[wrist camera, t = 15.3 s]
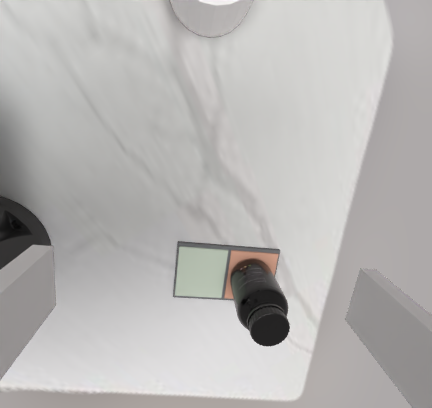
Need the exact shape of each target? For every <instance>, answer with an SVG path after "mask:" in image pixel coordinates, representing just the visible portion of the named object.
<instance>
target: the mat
mask: <svg viewBox="0 0 432 408" xmlns="http://www.w3.org/2000/svg"><path fill="white" fill-rule="evenodd" d="M279 254H280V250H279V249H268V248H255V247H242V246H229V245H216V244H203V243H190V242H178V249H177V260H176V271H175V282H174V293H173V297H183V298H201V299H219V300H234V298H233V294H232V290H231V285H230V276H231V273H232V271H233V269H234V268H235V267H236V266H237V265H238V264H239V263H241V262H242V261H245V260H249V259H256V260H260V261H262V262H264V263H265V264H266V265H267V266H268V267H269V268H270V270H271V271H272V273H273V275H274V277H275V274H276V269H277V264H278V259H279Z"/></svg>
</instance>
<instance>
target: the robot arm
mask: <svg viewBox="0 0 432 408" xmlns="http://www.w3.org/2000/svg"><path fill="white" fill-rule="evenodd" d="M55 306H56V294H55V273H54V252H53V246H50V241H49V237H48V235H47V233H46V231H45V229H44V227H43V225H42V224H41V223H40V221H39V220H38V219H37V218H36V217H35V216H34V215H33V214H32V213H31V212H30V211H29V210H27V209H26V208H24V207H23V206H21V205H20V204H18V203H16V202H14V201H11V200H9V199H6V198H3V197H0V380H1V379H2V377H3V376H4V375H5V373H6V372H7V371H8V369H9V368H10V367H11V365H12V364H13V362H14V361H15V360H16V358H17V357H18V356H19V354H20V353H21V352H22V350H23V349H24V348H25V346H26V345H27V344H28V342H29V341H30V340H31V338H32V337H33V335H34V334H35V333H36V331H37V330H38V329H39V327H40V326H41V325H42V323H43V322H44V321H45V319H46V318H47V317H48V315H49V314H50V313H51V311H52V310H53V308H54V307H55ZM345 320H346V321H347V323H348V324H349V325H350V327H351V328H352V329H353V331H354V332H355V333H356V334H357V336H358V337H359V339H360V340H361V341H362V342H363V344H364V345H365V346H366V348H367V349H368V350H369V352H370V353H371V354H372V356H373V357H374V358H375V360H376V361H377V362H378V363H379V365H380V366H381V367H382V369H383V370H384V371H385V373H386V374H387V375H388V376H389V378H390V379H391V381H392V382H393V383H394V384H395V386H396V387H397V388H398V390H399V391H400V392H401V394H402V395H403V396H404V398H405V399H406V400H407V402H408V403H409V404H410V405H411V406H412V408H432V315H431V314H430V313H429V312H428V311H426V310H425V309H424V308H423V307H421V306H420V305H419V304H418V303H416V302H415V301H414V300H413V299H412V298H410V297H409V296H408V295H407V294H405V293H404V292H403V291H402V290H401V289H399V288H398V287H397V286H396V285H394V284H393V283H392V282H391V281H389V280H388V279H387V278H386V277H384V276H383V275H382V274H381V273H380V272H378V271H377V270H375V269H360V271H359V275H358V278H357V281H356V285H355V288H354V291H353V295H352V298H351V301H350V305H349V308H348V312H347V315H346V318H345Z"/></svg>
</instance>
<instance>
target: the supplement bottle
mask: <svg viewBox="0 0 432 408" xmlns="http://www.w3.org/2000/svg"><path fill="white" fill-rule="evenodd" d="M230 285H231V290H232V294H233V298H234V303H235V307H236V311H237V315H238V318H239V321H240V322H241V324H242V325H243V326H244V327H245V328H246V329H248V330H249V331H250V335H251V336H252V339H254V341H255V342H256V343H258V344H259V345H262V346H274V345H276V344H279V343H281V342H282V341H283V340H284V339H285V338H286V337H287V335H288V332H289V329H290V326H289V322H288V319H287V314H288V303H287V300H286V298H285V296H284V294H283V292H282V290H281V288H280V286H279V284H278V282H277V281H276V279H275V277H274V275H273V273H272V271H271V270H270V268H269V267H268V266H267V265H266V264H265V263H264V262H262V261H260V260H256V259H249V260H245V261H242V262H241V263H239V264H238V265H237V266H236V267H235V268H234V269H233V271H232V273H231V276H230Z"/></svg>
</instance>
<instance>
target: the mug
mask: <svg viewBox="0 0 432 408" xmlns="http://www.w3.org/2000/svg"><path fill="white" fill-rule="evenodd" d="M170 2H171V5H172V8H173V10H174V13H175V14H176V16H177V17H178V19H179V20H180V22H181V23H182V24H183V25H184V26H185V27H187V28H188V29H189V30H190V31H192V32H194V33H196V34H198V35H201V36H205V37H219V36H222V35H224V34H227V33H229V32H231V31H232V30H233V29H235V28H236V27H237V26H238V25H239V24H240V23H241V21H242V20H243V18H244V17H245V16H246V14H247V12H248V10H249V8H250V6H251V4H252V2H253V0H170Z"/></svg>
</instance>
